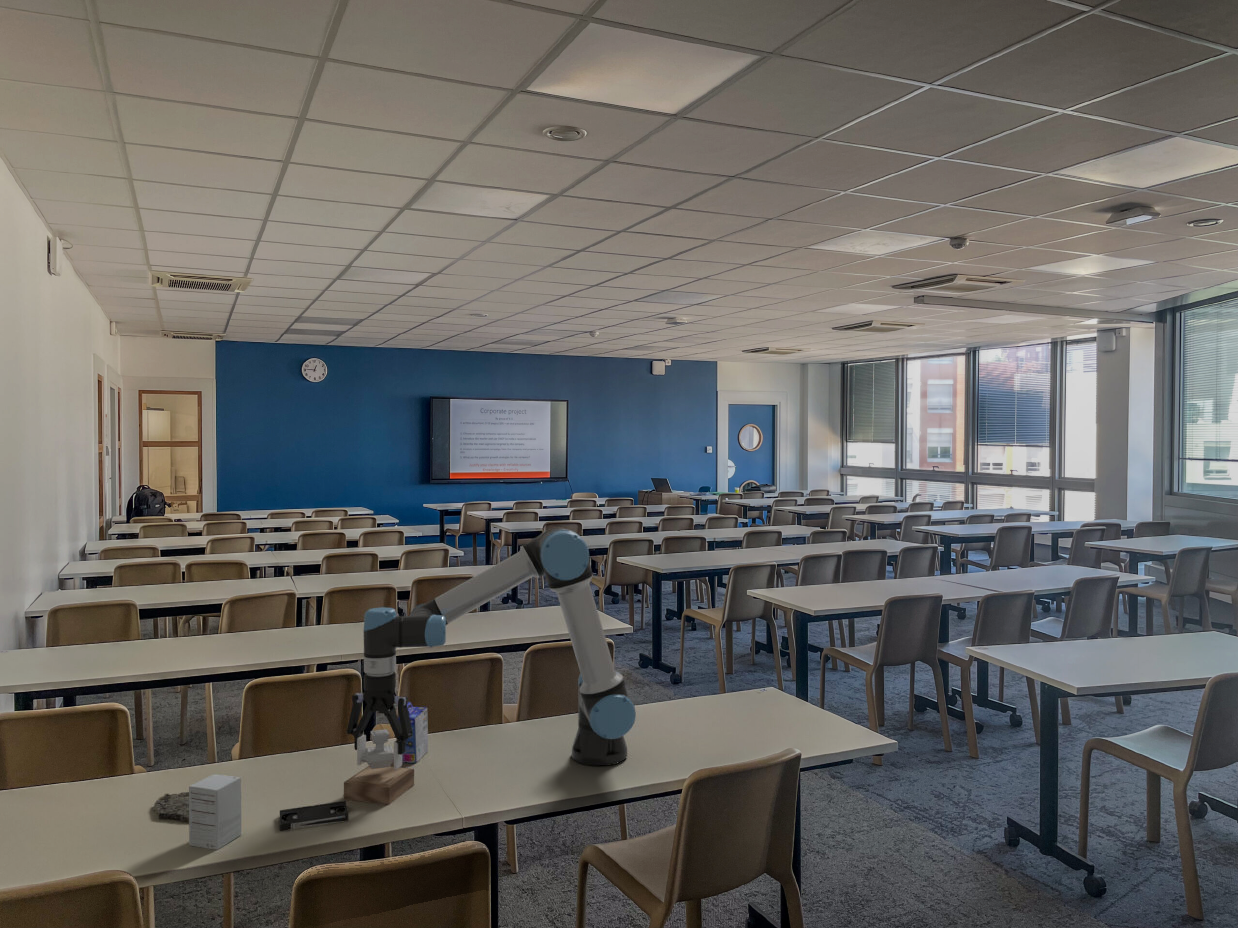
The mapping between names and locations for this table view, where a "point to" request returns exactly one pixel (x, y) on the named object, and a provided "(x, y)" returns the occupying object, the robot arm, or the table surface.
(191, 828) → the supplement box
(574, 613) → the robot arm
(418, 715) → the ink cartridge box
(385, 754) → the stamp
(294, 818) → the vhs tape
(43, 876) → the table surface
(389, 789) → the plinth
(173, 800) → the stone slab
